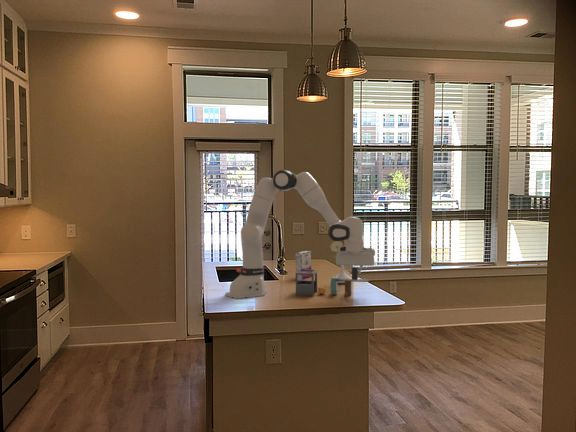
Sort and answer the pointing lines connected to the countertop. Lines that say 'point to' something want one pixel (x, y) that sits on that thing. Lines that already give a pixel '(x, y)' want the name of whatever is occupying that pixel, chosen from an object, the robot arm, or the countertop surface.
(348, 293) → the rod cradle
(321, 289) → the ball
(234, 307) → the countertop surface
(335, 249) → the flower in vase
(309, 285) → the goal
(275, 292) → the countertop surface
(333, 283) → the rod
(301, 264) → the candy bar box
